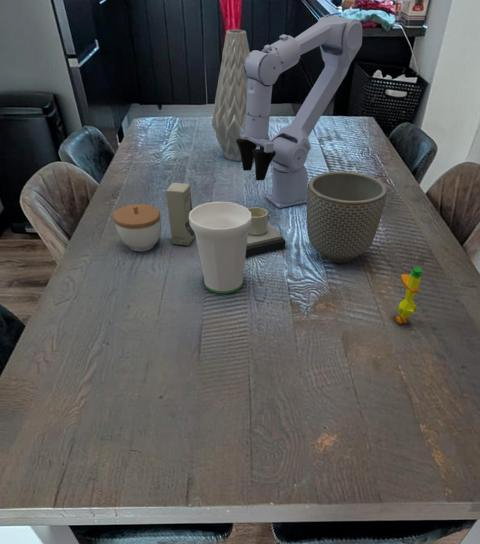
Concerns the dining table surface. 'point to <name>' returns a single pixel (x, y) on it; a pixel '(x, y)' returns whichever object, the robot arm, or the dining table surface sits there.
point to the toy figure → (409, 294)
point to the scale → (264, 242)
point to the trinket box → (138, 226)
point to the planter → (343, 213)
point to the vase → (231, 94)
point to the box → (180, 213)
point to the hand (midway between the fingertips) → (253, 174)
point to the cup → (221, 243)
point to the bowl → (258, 221)
